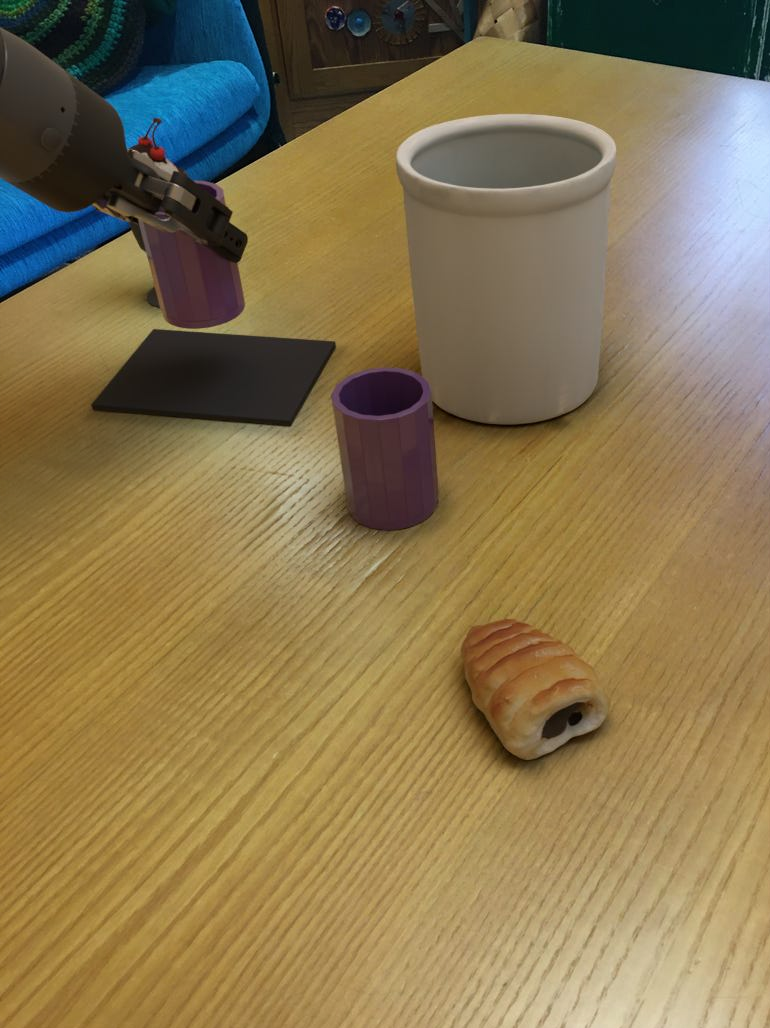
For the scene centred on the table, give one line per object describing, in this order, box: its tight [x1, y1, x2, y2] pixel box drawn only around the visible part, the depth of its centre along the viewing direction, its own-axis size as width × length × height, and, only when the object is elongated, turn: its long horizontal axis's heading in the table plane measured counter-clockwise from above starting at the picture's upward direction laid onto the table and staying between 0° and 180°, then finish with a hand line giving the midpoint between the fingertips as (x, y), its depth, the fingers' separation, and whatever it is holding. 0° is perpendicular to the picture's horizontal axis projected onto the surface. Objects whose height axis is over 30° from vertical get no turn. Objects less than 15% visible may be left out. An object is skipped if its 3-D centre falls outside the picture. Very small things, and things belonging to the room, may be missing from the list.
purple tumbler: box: [330, 366, 439, 531], centre depth 72 cm, size 6×6×8 cm
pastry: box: [460, 618, 611, 761], centre depth 60 cm, size 9×7×4 cm
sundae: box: [127, 117, 189, 308], centre depth 93 cm, size 7×7×15 cm
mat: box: [90, 328, 337, 427], centre depth 87 cm, size 16×12×1 cm
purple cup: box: [138, 180, 246, 330], centre depth 80 cm, size 6×6×8 cm
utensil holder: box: [395, 113, 617, 425], centre depth 80 cm, size 15×15×18 cm
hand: (206, 239), depth 81 cm, fingers closed on purple cup, 6 cm apart
